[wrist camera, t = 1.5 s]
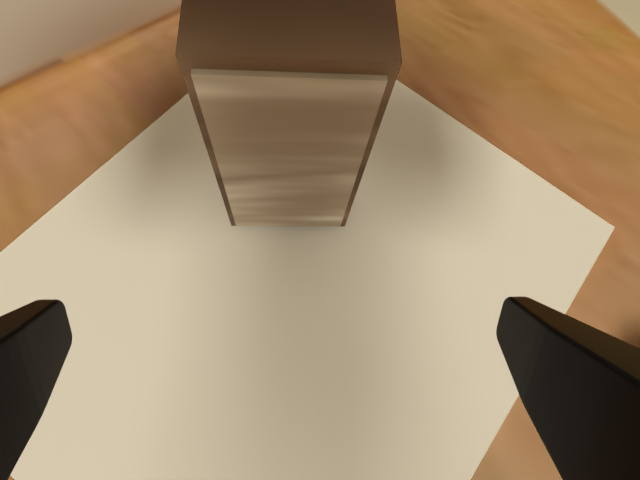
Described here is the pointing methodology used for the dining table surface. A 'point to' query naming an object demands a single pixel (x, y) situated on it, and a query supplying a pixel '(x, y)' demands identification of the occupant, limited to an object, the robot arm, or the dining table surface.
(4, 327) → the robot arm
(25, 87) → the dining table surface
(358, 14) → the wood grain block
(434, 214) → the mat
